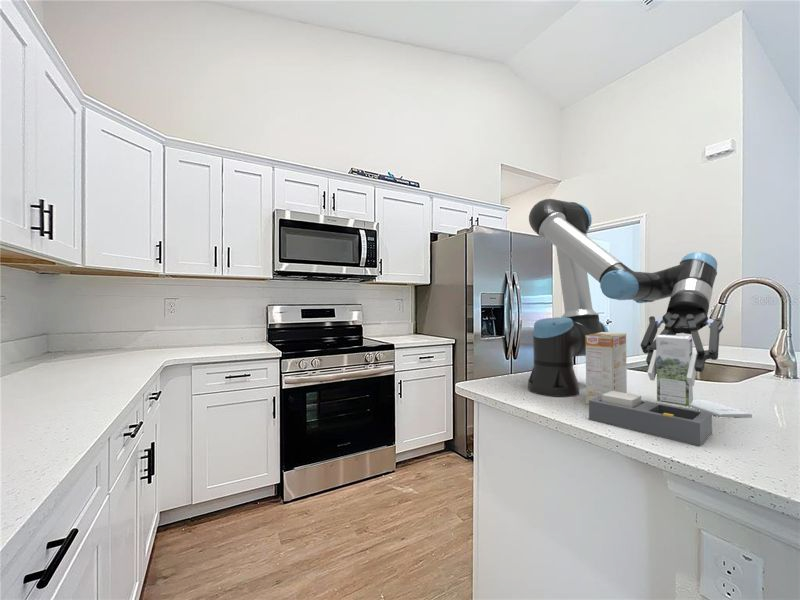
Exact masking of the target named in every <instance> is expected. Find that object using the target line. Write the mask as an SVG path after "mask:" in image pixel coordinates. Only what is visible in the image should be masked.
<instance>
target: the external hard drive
mask: <svg viewBox="0 0 800 600" xmlns="http://www.w3.org/2000/svg"><path fill="white" fill-rule="evenodd" d="M690 407H692V408H691V409H693V408H695V409H694V410H696V409H697V410H698V411H699V410H700V411H704V412H709V413H712V416H713V415H715V416H714V417H716V416H718V417H717V418H719V417H734V418H738V419H739V418H740V419H742V418H743V419H744V418H745V419H746V418H750V419H751V418H753V414H752V413H749V412H745V411H742V410H739V409H736V408H733V407H729V406H727V405H723V404H720V403H716V402H714V401H710V400H707V399H693V402H692V403H691V405H690V406H689V407H688V408H690Z"/></svg>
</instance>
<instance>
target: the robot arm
mask: <svg viewBox="0 0 800 600" xmlns="http://www.w3.org/2000/svg"><path fill="white" fill-rule="evenodd" d="M592 220H593V219H592V214H591V211H590V210H589V209H588V207H586V206H585V205H583V204H580V203H578V202H573V201H565V200H558V199H555V198H546V199H542V200H539V201H538V202H537V203H535V204H534V205H533V206H532V207H531V209H530V211H529V215H528V223H529V225H530V228H531V229H532V231H533V232H535V234H537V235H538V236H539V237H540V238H542V239H543V240H548V241H550V244H551V245H554V246H555V248H556V256H557V262H558V263H557V264H558V270H559V278H560V279H559V280H560V286H561V292H562V293H561V295H562V301H563V309H564V313H563V315H561V317H560V316H559V317H558V316H557V317H546V318H542V319H539V320H536V321H535V322H534V324H533V330H532V331H533V332H532V336H533V341H532V342H533V367H532V370H531V372H530V375H529V378H528V381H527V390H528V391H530V392H531V393H535V394H539V395H543V396H548V397H549V396H550V397H574V396H578V395H580V385H579V382H578V379H577V375H576V374H575V373H576V372H575V370H574V358H575V357H583V356H584V357H586V337H585V336H586V335H590V334H596V333H600V332H609V330H608V327H607V326H606V325H604V323H603V322H601V321H600V317H599V316H600V315H599V313H598V312H596V311H595V310H594V309H593V302H592V297H591V296H592V295H591V290H590V284H589V276H591V278H593V279H594V280H595V281H597V282H598V283H600V284H599V287H600V289H601V292H602V294H603V295H604V296H605V297H606V298H608V299H612V300H618V301H627V300H628V301H629V300H630V301H631V300H632V301H635V303H637V304H645V303H653V302H655V301H660V300H663V299H667V298H670V299H669V301H668V305H667V308H666V312H665V314H663V316H662V317H655V316H653V315H651V316H649V318H648V320H649V324H648V325H647V326H648V327H647V328H646V331H645V334H644V335H643V338H642V341H641V342H640V348H641V350H642V353H643V354H647V356H646V357H645V358H646V359H645V361H646V364H647V366H648V370H647V371H646V373H647V375H648V377H649V379H650V381H653V382H654V381H656V380H655V379H656V378H657V355H656V336H657V333H658V330H659V328H661V326H662V324H664V328H663V330H662V331H661V332H660V333H659V334H658V335H678V334H685V335H686V334H687V335H691V336H692V342H693V345H694V347H695V350H696V352H692V355H691V360H690V364H689V369H688V373H687V381H688V384H689V386H692V387H694V386H695V381H696V377H697V372H698V373H703V371H704V369H705V363H706V361H707V360H713V361H714V360H715V361H716V360H718V358H719V350H720V349H719V347H720V333H721V332H722V331H723V329H724V323H723V318H721V317H717V318H716V317H715V319H712V318H709V316H708V314H709V309H710V303H711V299H712V297H713V296H712V294H713V289H714V284H715V280H716V277H717V275H718V261H717V259H716V258H715V257H714V256H713V255H711V254H709V253H707V252H703V251H694V252H690V253H688V254H686V255H685V256H684V257H682V258H681V261H679V264H678V265H674V266H672V267H668V268H665V269H662V270H659V271H655V272H654V271H653V272H646V271H645V272H644V271H634V270H632V269H631V268H629V267H628V265H625V264H624V263H623V262H622V261H620V260H619V259H618V258H616V257H615V256H614V255H613V254H611V253H610V252H608V251H607V250H606V249H604V248H603V247H602V246H601V245H599V244H598V243H596V242H595V241H594V240H592V239H591V238H590V237H588V234H587V232H588V231H589V229H590V227H591V226H592V222H593V221H592ZM588 274H589V276H588ZM706 326H708V328H709V341H708V350H707V349H706V350H704V349H705V348H704V346H703V343H702V341H701V338H700V337H701V336H700V334H699V331H700V330H701V329H703V328H704V327H706Z"/></svg>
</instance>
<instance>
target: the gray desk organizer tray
mask: <svg viewBox="0 0 800 600" xmlns="http://www.w3.org/2000/svg"><path fill="white" fill-rule="evenodd" d="M588 420H592V421H596V422H599V423H604V424H608V425H612V426H615V427H619V428H623V429H629V430H631V429H632V431H636V432H639V433H640V432H641V433H644V432H645V434H648V433H649V435H652V436H657V437H660V438H666V439H670V440H673V441H677V442H681V443H685V444H689V443H690V444H689V445H693V444H694V445H693V446H697V447H701V446H702V445H703V444H704V443H705V442H706V441H707V440H708V439H709V438H710V437H711V436H712V435H713V415H712V413H709V412H704V411H699V410H696V409H693V408H688V407H687V408H686V407H682V406H681V407H680V406H675V405H670V404H667V403H666V404H665V403H658V402H653V401H650V400H649V401H648V400H642V395H641V394H640V395H639V394H633V393H628V392H627V393H622V392H617V391H610V392H608V393H605V394H602V396H599V397H597V398H594V399H592V400H589V405H588ZM711 434H712V435H711ZM710 435H711V436H710ZM709 436H710V437H709ZM708 437H709V438H708Z"/></svg>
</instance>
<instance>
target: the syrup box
mask: <svg viewBox="0 0 800 600" xmlns="http://www.w3.org/2000/svg"><path fill="white" fill-rule="evenodd" d="M655 339H656V355H657V373H656V401H657V402H661V403H666V404H672V405H673V404H674V405H679V406H685V407H687V406H690V405H691V403H692V402H693V400H694V393H693V392H694V391H693V389H694V388H693V386H689V384H688V381H687V373H688V369H689V364H690V360H691V355H692V353H693V338H692V335H682V334H681V335H679V334H676V335H659V334H657V335H656V336H655Z"/></svg>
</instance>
